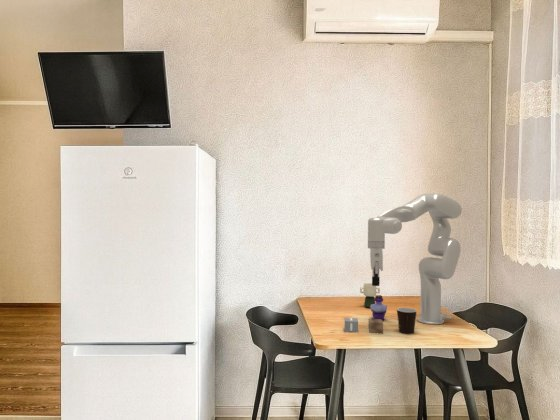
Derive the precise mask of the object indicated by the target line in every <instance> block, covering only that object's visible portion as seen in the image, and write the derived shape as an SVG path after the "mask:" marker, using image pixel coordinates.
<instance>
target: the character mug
mask: <svg viewBox="0 0 560 420" xmlns="http://www.w3.org/2000/svg"><path fill="white" fill-rule="evenodd" d="M359 289H360V290H359V293H360V294H363V296H365V297H364V305H363V306H364V307H365V308H370V309H371V307H370V305H371V304H376V301H374V298H375V297H376V295H377V294H380V293H381V292H380V291H381V288H380V286H372V282H367V283H363V287H362V286H361V287H360V288H359Z"/></svg>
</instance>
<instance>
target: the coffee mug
mask: <svg viewBox="0 0 560 420" xmlns="http://www.w3.org/2000/svg"><path fill="white" fill-rule="evenodd" d="M396 314H397V322H398V332H399V333H400V334H404V335H412V334H414V333H415V329H416V328H415V326H416V321H417V309H415V308H410V307H398V308H397V309H396Z"/></svg>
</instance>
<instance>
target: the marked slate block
mask: <svg viewBox="0 0 560 420" xmlns="http://www.w3.org/2000/svg"><path fill="white" fill-rule="evenodd" d="M356 332H358V333H359V319H358V317H355V318H354V317H353V318H352V317H344V333H356Z"/></svg>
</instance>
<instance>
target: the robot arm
mask: <svg viewBox="0 0 560 420" xmlns="http://www.w3.org/2000/svg"><path fill="white" fill-rule="evenodd" d="M462 209H463V208H462V205H461V204H460V203H459V202H458V201H457V200H455V199H453V198H451V197H448V196H446V195H444V194H441V193H438V192H437V193H423V194H420V195H418V196H417V197H415V198H413V199H411V200H410V201H408V202H406V203H405V204H403V205H401V206H400V205H399V206H397V207H395V208H392V209H389V210H387V211H385V212H383V213H381V214H380V215H378V216H376V217H370V218H369V219H368V220H367V249H368V250H369V251H370V253H369V254H370V255H369V258H370V262H369V263H370V269H371V271H372V276H371V283H372V286H376V287H380V282H381V281H380V271H381V272H383V271H384V262H383V261H384V255H383V254H384V253H383V250H384V249H385V244H386V241H385V240H386V236H385V235H386V234H391V235H395V234H398V233H399V232H401V230H402V228H403V224H402V223H408V222H413V221H415V220H417V219H418V218H420V217H421V216H423V215H424V214H426V213H427V212H428V213H429V216H430V218H431V220H432V225H433V228H432V232H431V235H430V238H429V241H428V245H427V252H428V254H430V255H431V256H427V257H424V258H422V259H420V261H419V263H418V272H419V277H420V278H419V280H420V315H419V316H418V317H416V321H417V322H419V323H421V324H426V325H442V324H444V323H445V320H451V319H452V315H451V314H447V313H446V314H443V313H442V284H441V281H440V279H441V280H450V279H452V277H454V274H455V272H456V269H457V265H458V262H459V259H460V256H461V255H460V254H461V250H462V249H461V244H460V241H459V240H457V239H456V238H454V237H450V236H451V231H452V226H451V224H450V222H449V219H451V220H454V219H457V218H459V217H460V215H461V214H462V211H463V210H462ZM432 256H436V257H432ZM439 257H441V258H439Z"/></svg>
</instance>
